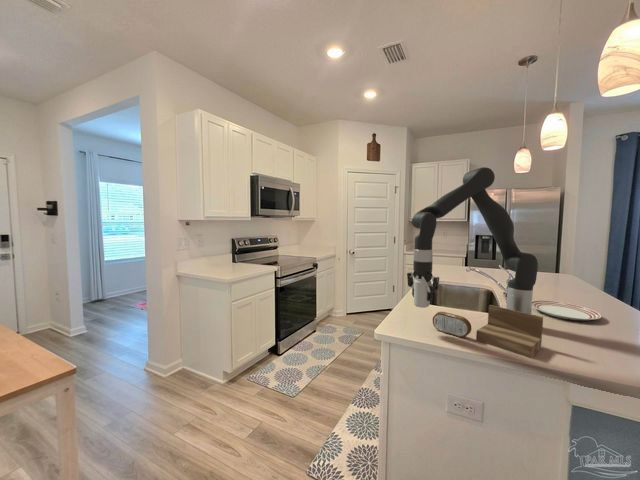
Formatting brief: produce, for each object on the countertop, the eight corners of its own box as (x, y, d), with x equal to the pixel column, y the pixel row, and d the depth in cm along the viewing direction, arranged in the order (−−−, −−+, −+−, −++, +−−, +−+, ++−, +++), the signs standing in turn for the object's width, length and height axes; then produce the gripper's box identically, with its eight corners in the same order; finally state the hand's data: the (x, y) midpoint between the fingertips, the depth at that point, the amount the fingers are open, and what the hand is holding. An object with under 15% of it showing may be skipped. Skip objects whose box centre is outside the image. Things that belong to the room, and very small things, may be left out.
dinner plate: (607, 317, 139) (608, 310, 139) (592, 329, 124) (592, 321, 123) (540, 302, 162) (541, 297, 161) (520, 311, 146) (521, 305, 146)
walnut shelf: (488, 332, 119) (489, 304, 118) (540, 348, 105) (543, 317, 104) (476, 340, 111) (477, 310, 110) (530, 358, 97) (533, 324, 96)
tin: (471, 338, 113) (472, 318, 112) (468, 340, 111) (469, 320, 110) (434, 327, 124) (434, 309, 123) (431, 329, 121) (431, 310, 121)
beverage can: (430, 308, 116) (431, 280, 115) (414, 307, 117) (415, 279, 116) (428, 304, 122) (428, 276, 121) (412, 303, 123) (413, 276, 122)
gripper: (444, 260, 114) (442, 301, 116) (412, 257, 126) (412, 293, 127) (434, 262, 110) (433, 304, 111) (403, 258, 121) (402, 296, 122)
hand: (422, 298), depth 119 cm, fingers closed on beverage can, 6 cm apart
